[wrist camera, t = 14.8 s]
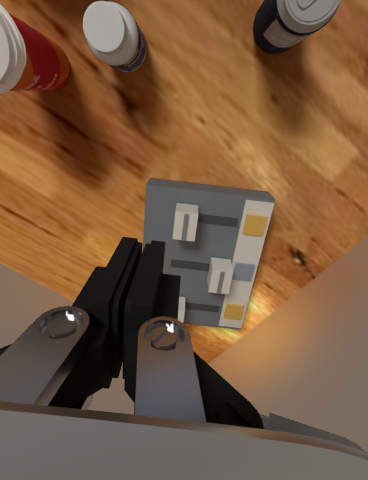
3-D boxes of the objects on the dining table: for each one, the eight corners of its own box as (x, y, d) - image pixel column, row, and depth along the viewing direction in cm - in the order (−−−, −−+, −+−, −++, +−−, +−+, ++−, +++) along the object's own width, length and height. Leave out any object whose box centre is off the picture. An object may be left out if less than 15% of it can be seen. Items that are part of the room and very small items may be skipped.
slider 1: (185, 297, 46) (184, 312, 42) (182, 315, 47) (181, 331, 44) (167, 295, 46) (165, 309, 42) (165, 313, 47) (163, 329, 44)
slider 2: (198, 205, 39) (198, 214, 35) (194, 231, 40) (194, 242, 37) (176, 202, 39) (175, 211, 35) (174, 228, 40) (172, 239, 37)
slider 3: (230, 259, 42) (233, 272, 39) (225, 281, 44) (228, 295, 41) (211, 257, 42) (212, 270, 39) (207, 279, 44) (208, 293, 41)
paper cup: (20, 91, 37) (-70, 82, 25) (16, 22, 34) (-88, -29, 21) (78, 104, 38) (20, 102, 25) (80, 37, 34) (15, -4, 22)
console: (267, 191, 42) (275, 200, 38) (237, 314, 52) (240, 331, 48) (150, 177, 42) (145, 185, 38) (142, 304, 52) (138, 320, 48)
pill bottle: (140, 79, 36) (123, 70, 27) (100, 62, 35) (70, 47, 27) (153, 32, 34) (139, 6, 25) (111, 13, 33) (81, -22, 24)
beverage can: (308, 29, 33) (364, -9, 22) (269, 66, 35) (303, 47, 24) (282, -16, 32) (328, -81, 21) (242, 25, 33) (266, -15, 22)
